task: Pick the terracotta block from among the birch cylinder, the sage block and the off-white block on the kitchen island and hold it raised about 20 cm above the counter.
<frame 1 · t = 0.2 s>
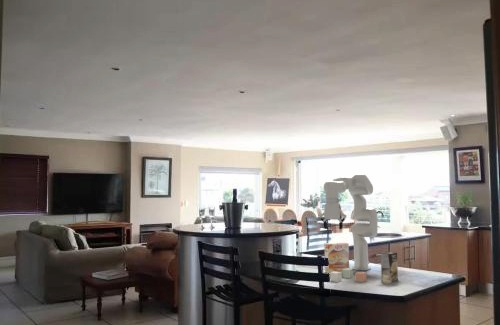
hand: (333, 228, 262), 31 cm above the counter, tool pointing down, fingers open, 9 cm apart
sage block: (347, 276, 268), on the counter
coffee box: (389, 279, 257), on the counter
birch cylinder: (387, 283, 247), on the counter
off-white block: (336, 280, 256), on the counter
terracotta block: (361, 281, 254), on the counter
coffeecake box: (337, 272, 283), on the counter
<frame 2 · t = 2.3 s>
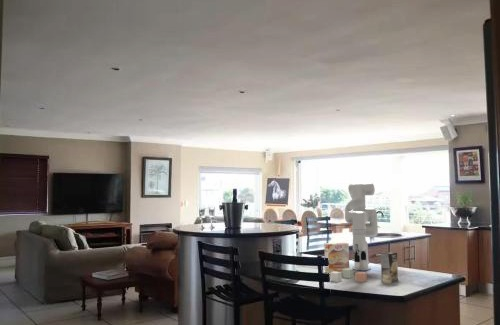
hand: (360, 260, 255), 12 cm above the counter, tool pointing down, fingers open, 9 cm apart
nothing on the counter moved.
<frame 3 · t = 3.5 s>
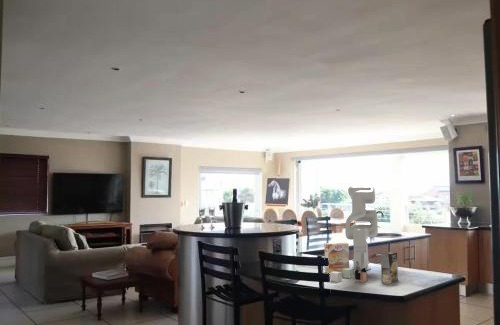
hand: (361, 278, 254), 2 cm above the counter, tool pointing down, fingers open, 9 cm apart
nothing on the counter moved.
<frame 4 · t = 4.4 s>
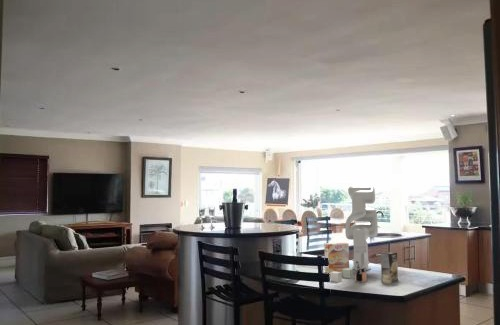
hand: (361, 279, 254), 1 cm above the counter, tool pointing down, fingers closed on terracotta block, 5 cm apart
terracotta block: (361, 281, 254), on the counter, touching gripper
everything else where it was.
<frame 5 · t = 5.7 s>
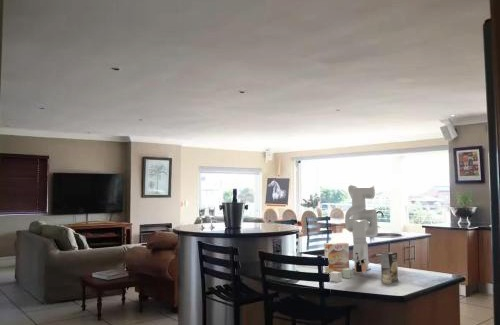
hand: (360, 270, 255), 6 cm above the counter, tool pointing down, fingers closed on terracotta block, 5 cm apart
terracotta block: (360, 272, 255), point 5 cm above the counter, touching gripper
everything else where it was.
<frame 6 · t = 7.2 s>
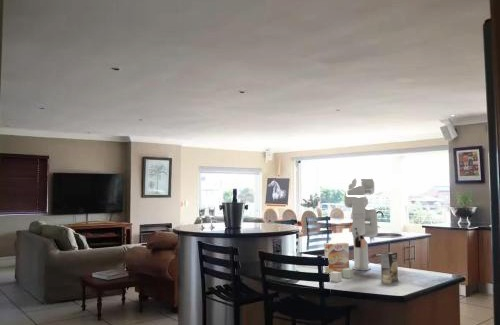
hand: (359, 246, 256), 20 cm above the counter, tool pointing down, fingers closed on terracotta block, 5 cm apart
terracotta block: (359, 247, 256), point 20 cm above the counter, touching gripper
everything else where it was.
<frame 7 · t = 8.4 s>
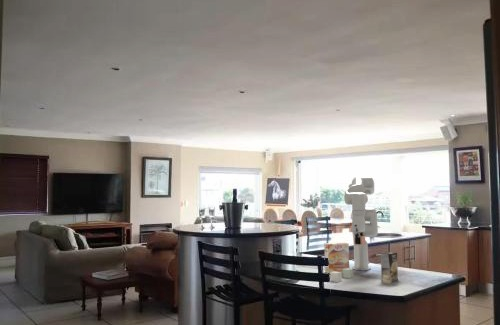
hand: (359, 243, 256), 22 cm above the counter, tool pointing down, fingers closed on terracotta block, 5 cm apart
terracotta block: (359, 244, 256), point 22 cm above the counter, touching gripper
everything else where it was.
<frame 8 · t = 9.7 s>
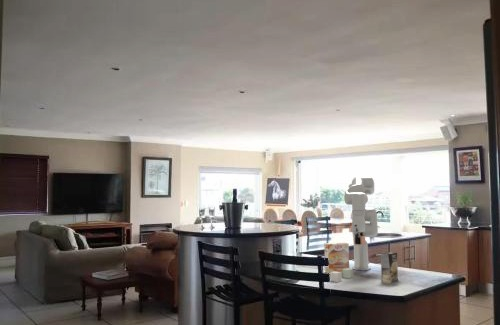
hand: (359, 243, 256), 22 cm above the counter, tool pointing down, fingers closed on terracotta block, 5 cm apart
terracotta block: (359, 244, 256), point 22 cm above the counter, touching gripper
everything else where it was.
at the end: the gripper is holding terracotta block; terracotta block point 21.6 cm above the counter; birch cylinder moved 0.1 cm from its start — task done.
